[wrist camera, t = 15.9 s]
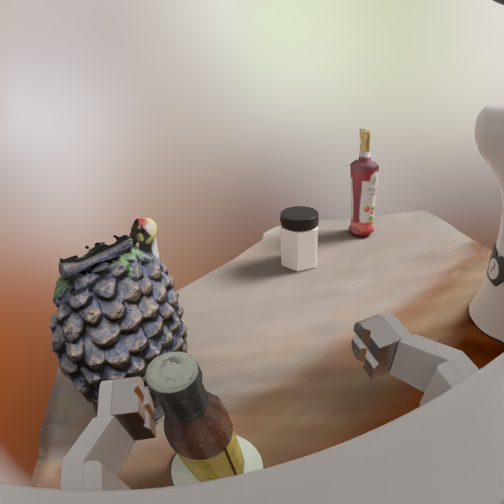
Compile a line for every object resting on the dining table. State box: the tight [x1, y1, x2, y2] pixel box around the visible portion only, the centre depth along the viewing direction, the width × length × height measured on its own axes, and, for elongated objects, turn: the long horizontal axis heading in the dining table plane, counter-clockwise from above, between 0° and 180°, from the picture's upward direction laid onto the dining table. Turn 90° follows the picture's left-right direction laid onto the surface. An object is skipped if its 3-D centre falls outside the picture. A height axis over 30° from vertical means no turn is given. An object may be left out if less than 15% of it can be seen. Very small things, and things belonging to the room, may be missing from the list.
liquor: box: [349, 129, 379, 237], centre depth 77 cm, size 7×7×28 cm
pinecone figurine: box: [50, 217, 187, 424], centre depth 37 cm, size 21×15×25 cm
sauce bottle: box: [145, 352, 245, 482], centre depth 26 cm, size 7×6×20 cm
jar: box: [280, 206, 318, 272], centre depth 70 cm, size 9×8×12 cm
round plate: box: [171, 435, 264, 486], centre depth 31 cm, size 11×11×1 cm
